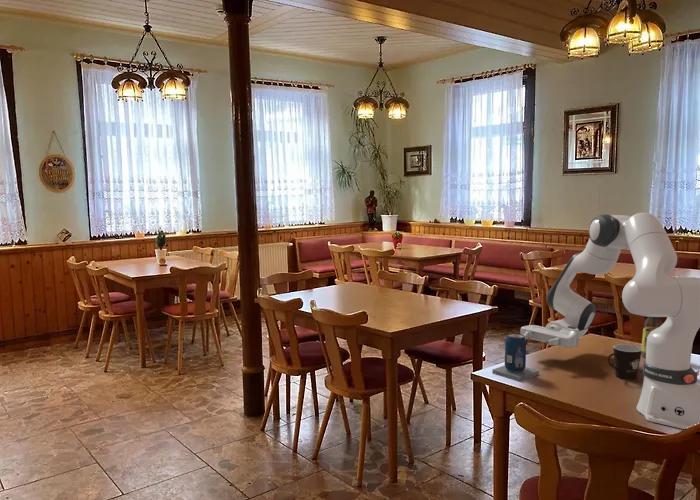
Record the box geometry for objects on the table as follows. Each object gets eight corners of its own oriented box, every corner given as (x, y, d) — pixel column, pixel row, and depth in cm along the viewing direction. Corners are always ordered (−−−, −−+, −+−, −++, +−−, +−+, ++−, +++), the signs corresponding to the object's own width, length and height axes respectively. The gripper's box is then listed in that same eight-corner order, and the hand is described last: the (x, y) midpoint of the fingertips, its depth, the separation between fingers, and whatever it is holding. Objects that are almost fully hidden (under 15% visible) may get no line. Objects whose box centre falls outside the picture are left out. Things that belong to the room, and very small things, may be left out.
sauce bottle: (642, 358, 212) (645, 306, 209) (640, 354, 217) (642, 302, 215) (661, 360, 209) (664, 307, 207) (659, 355, 215) (662, 303, 213)
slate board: (538, 374, 196) (538, 370, 196) (519, 381, 190) (519, 377, 189) (511, 366, 205) (511, 362, 205) (492, 373, 198) (492, 369, 198)
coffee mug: (634, 372, 197) (635, 344, 195) (644, 381, 188) (646, 352, 187) (599, 372, 198) (600, 344, 197) (607, 380, 189) (609, 351, 188)
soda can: (512, 364, 202) (513, 331, 201) (529, 369, 197) (530, 335, 195) (500, 368, 198) (501, 335, 196) (517, 374, 192) (518, 339, 191)
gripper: (532, 319, 220) (511, 325, 211) (583, 330, 204) (562, 337, 195) (532, 335, 221) (510, 342, 212) (582, 347, 205) (561, 355, 196)
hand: (535, 339), depth 204 cm, fingers open, 8 cm apart
